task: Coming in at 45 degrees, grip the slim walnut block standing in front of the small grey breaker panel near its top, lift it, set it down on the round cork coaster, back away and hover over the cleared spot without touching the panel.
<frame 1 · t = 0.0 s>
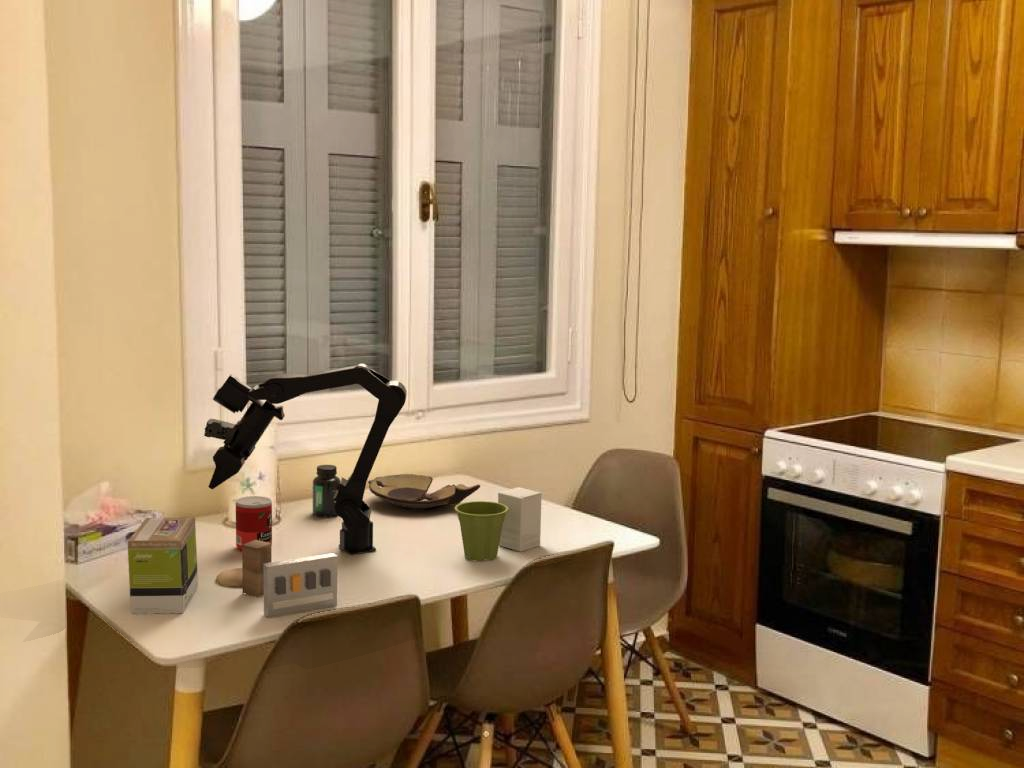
hand: (214, 482, 247), 15 cm above the table, tool tilted 35°, fingers open, 9 cm apart
broken bowl: (420, 507, 288), on the table
canned food: (254, 549, 250), on the table
breaker panel: (300, 610, 215), on the table
supplement bottle: (326, 514, 279), on the table
plant pot: (480, 557, 250), on the table
supplement box: (518, 546, 258), on the table
tea box: (165, 601, 218), on the table
coaster: (241, 578, 231), on the table
walnut block: (257, 592, 223), on the table
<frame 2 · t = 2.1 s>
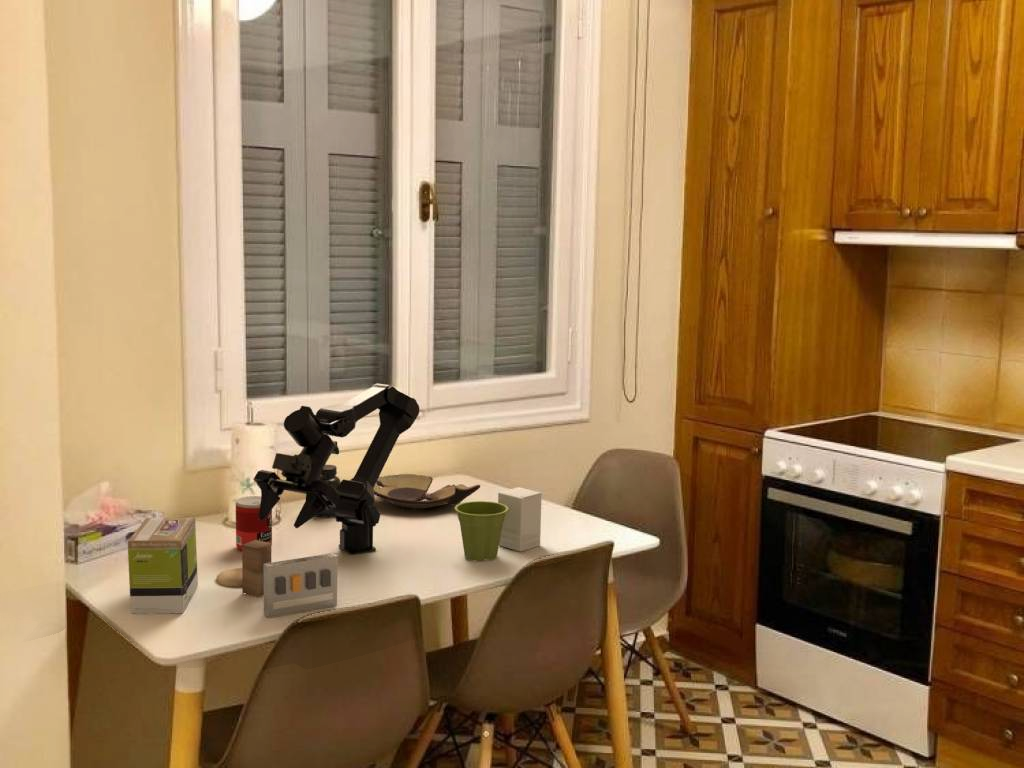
hand: (277, 523, 227), 13 cm above the table, tool tilted 45°, fingers open, 9 cm apart
nothing on the table moved.
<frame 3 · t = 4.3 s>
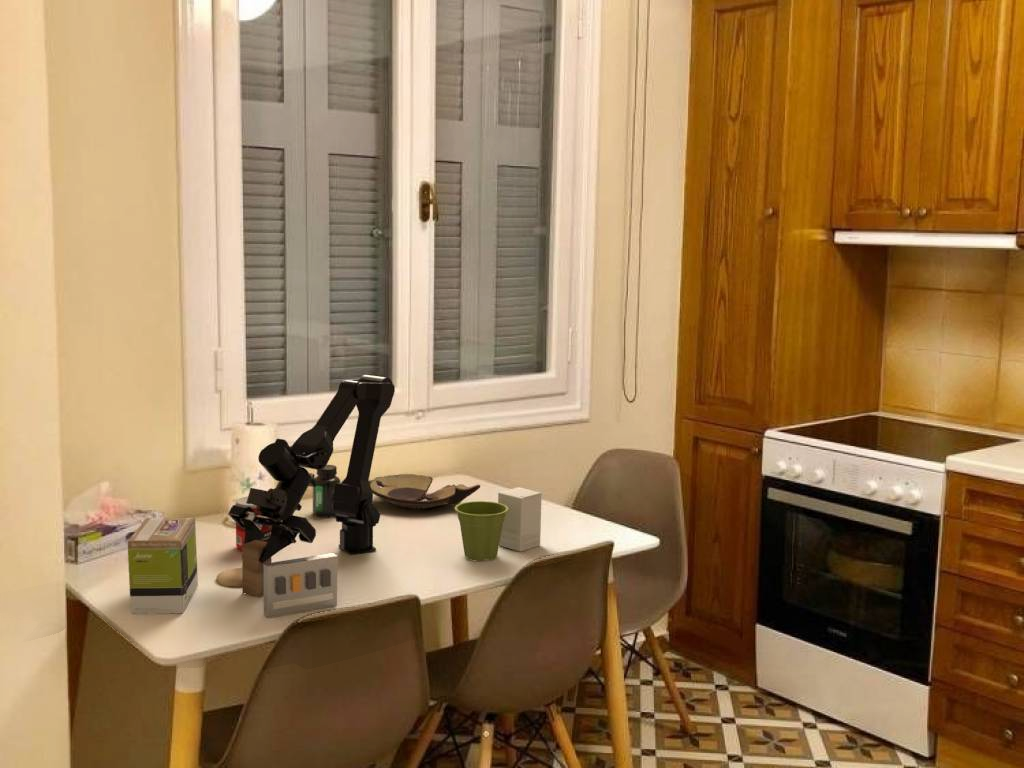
hand: (252, 559, 221), 7 cm above the table, tool tilted 45°, fingers closed on walnut block, 4 cm apart
walnut block: (257, 592, 223), on the table, touching gripper
everything else where it was.
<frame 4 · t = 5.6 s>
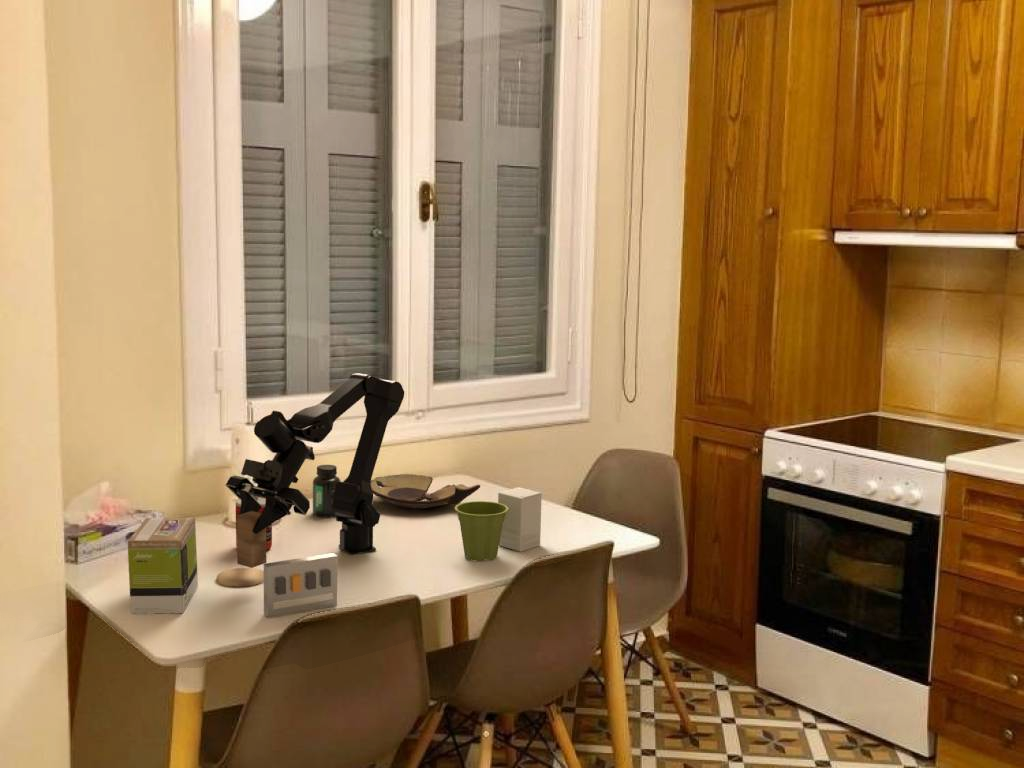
hand: (246, 530, 222), 12 cm above the table, tool tilted 45°, fingers closed on walnut block, 4 cm apart
walnut block: (252, 563, 224), point 5 cm above the table, touching gripper
everything else where it was.
when the fingers open (9 cm above the table, at t = 7.1 s): walnut block stays where it is, resting on coaster.
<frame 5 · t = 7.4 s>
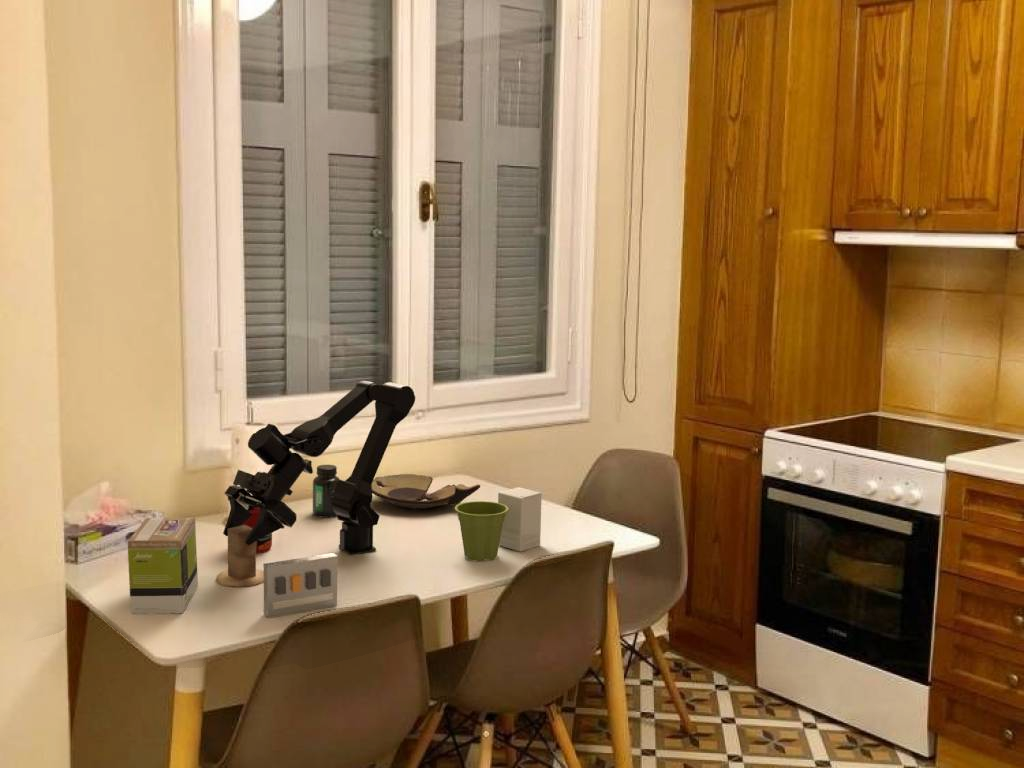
hand: (235, 539, 228), 9 cm above the table, tool tilted 45°, fingers open, 8 cm apart
walnut block: (242, 575, 231), point 1 cm above the table, touching coaster
everything else where it was.
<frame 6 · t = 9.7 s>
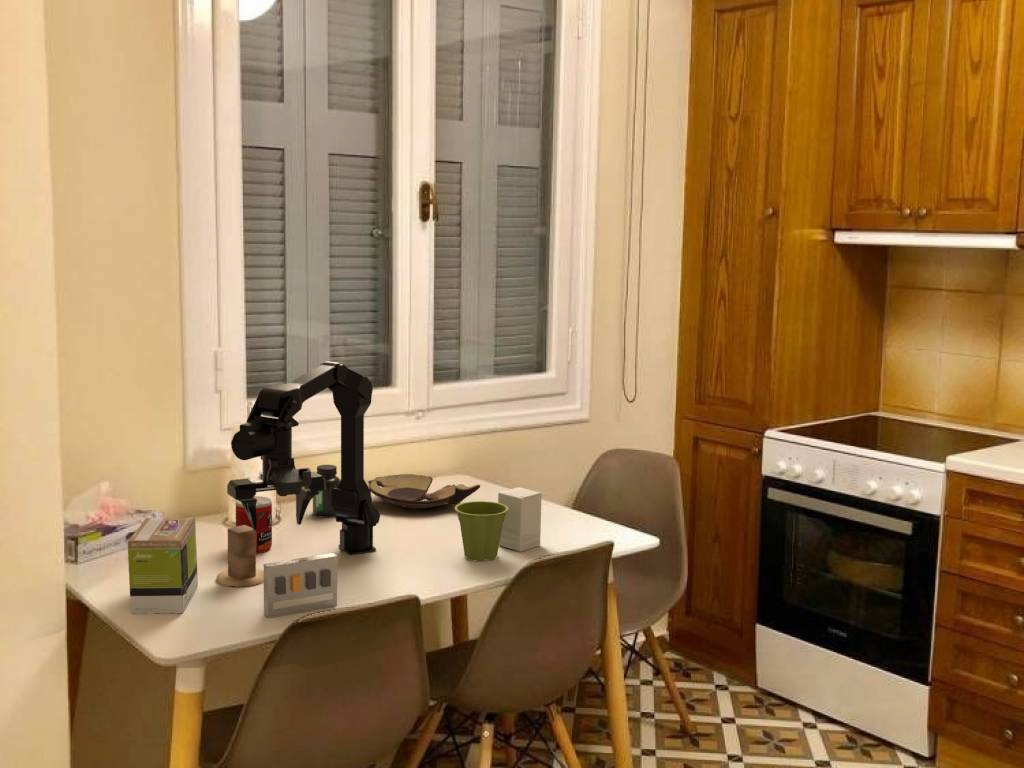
hand: (277, 527, 226), 12 cm above the table, tool pointing down, fingers open, 9 cm apart
nothing on the table moved.
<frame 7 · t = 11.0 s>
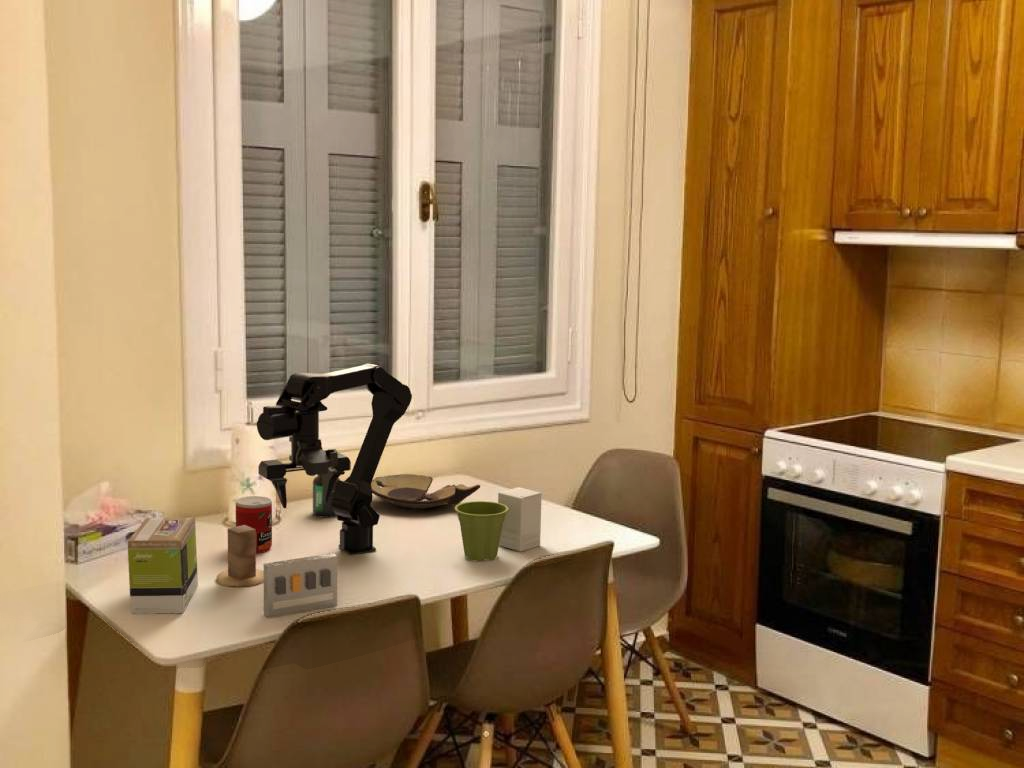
hand: (305, 505, 239), 13 cm above the table, tool pointing down, fingers open, 9 cm apart
nothing on the table moved.
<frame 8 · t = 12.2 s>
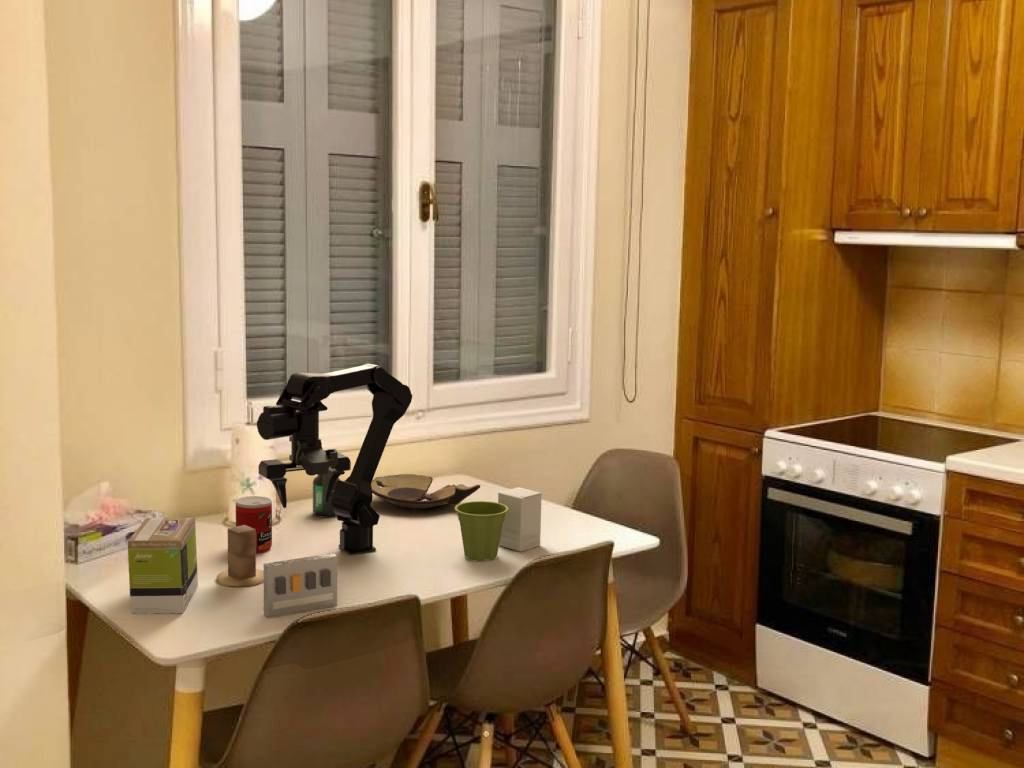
hand: (305, 505, 239), 13 cm above the table, tool pointing down, fingers open, 9 cm apart
nothing on the table moved.
at the end: walnut block 0.0 cm from the coaster (horizontally); walnut block tilted 0°; the gripper is holding nothing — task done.
